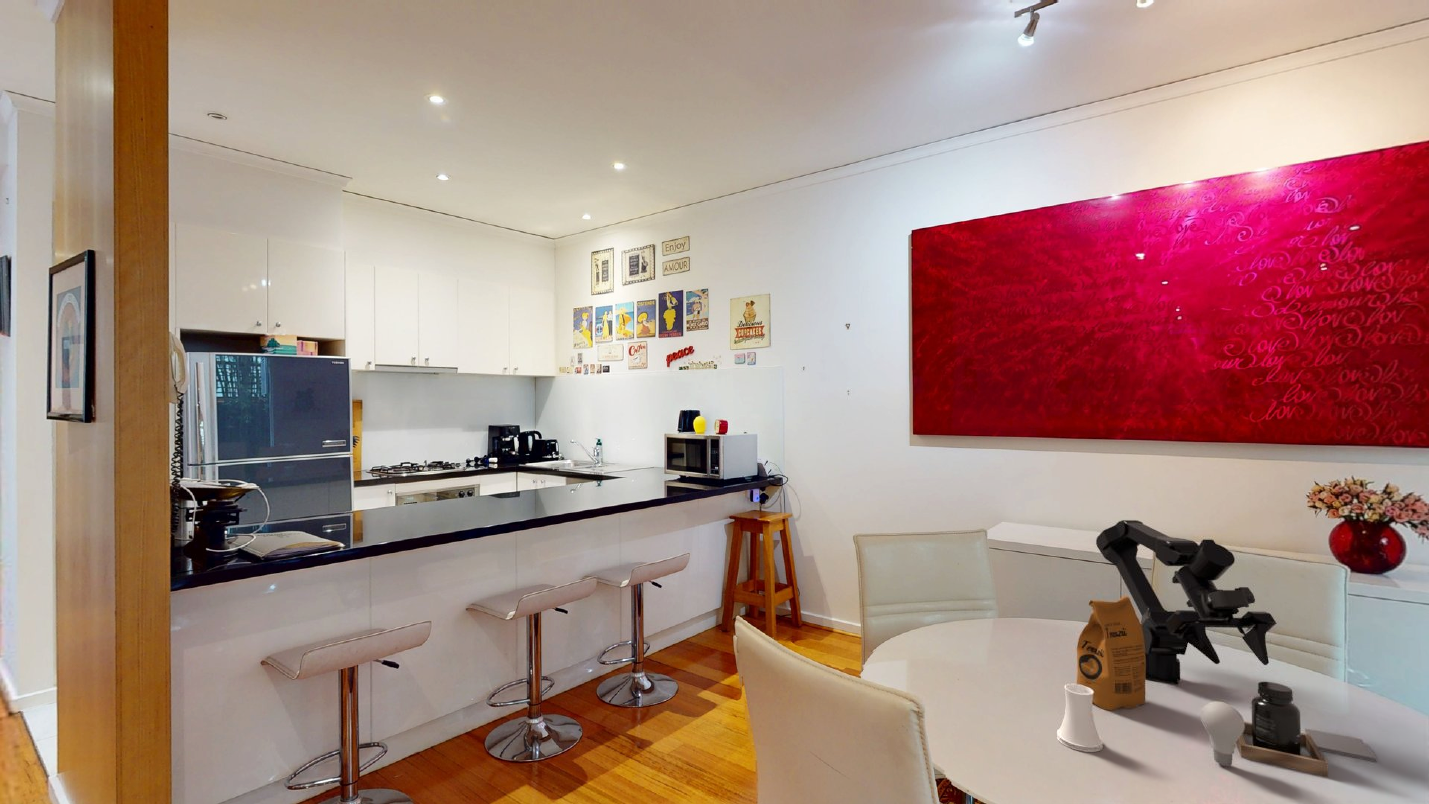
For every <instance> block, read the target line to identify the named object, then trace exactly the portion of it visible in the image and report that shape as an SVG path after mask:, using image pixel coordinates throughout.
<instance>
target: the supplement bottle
mask: <svg viewBox="0 0 1429 804" xmlns="http://www.w3.org/2000/svg"><path fill="white" fill-rule="evenodd" d="M1257 686H1258V687H1257V694H1258V695H1256V696H1253V698H1252V699H1251V723H1252V736H1251V743H1252V744H1251V745H1252V746H1256V747H1261V748H1266V749H1270V750H1275V751H1280V752H1285V753H1289V754H1294V755H1299V756H1302V746H1301V733H1302V731H1301V730H1302V729H1301V722H1302V721H1301V711H1300V709H1299V707H1298V706H1297V705H1296V704H1295V703H1293V701H1294V695H1293V689H1291V687H1288V686H1287V685H1284V684H1282V683H1281V684H1280V683H1276V682H1273V681H1272V682H1271V681H1259V682H1258V683H1257Z"/></svg>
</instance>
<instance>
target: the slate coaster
mask: <svg viewBox="0 0 1429 804" xmlns="http://www.w3.org/2000/svg"><path fill="white" fill-rule="evenodd" d="M1304 731H1305V734H1309V735H1310V736H1311V737H1312V739H1313V741H1314V742H1315V744H1316V745H1317V747H1318V749H1319V750H1320V752H1321V751H1322V752H1327V753H1331V754H1337V755H1341V756H1346V757H1351V758H1355V759H1360V760H1366V761H1370V762H1377V757H1376V756H1375V755H1374V754H1373V751H1372V750H1370V748H1369V747H1368V746H1367V744H1366V743H1365V741H1364V740H1363V739H1361V738H1357V737H1352V736H1346V735H1342V734H1338V733H1337V734H1336V733H1332V732H1327V731H1322V730H1316V729H1312V728H1306V727H1305V728H1304Z"/></svg>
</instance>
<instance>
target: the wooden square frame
mask: <svg viewBox="0 0 1429 804" xmlns="http://www.w3.org/2000/svg"><path fill="white" fill-rule="evenodd" d="M1244 724H1245V728H1244V732H1243V733H1242V735H1241V736H1240V738H1239V739H1238V740H1237V742H1236V744H1235V746H1236V748H1237V749H1238V752H1239V754H1240V755H1239V756H1240V757H1241V758H1243V759H1248V760H1251V761H1252V760H1253V761H1256V762H1260V763H1266V764H1269V765H1275V766H1280V767H1284V768H1288V769H1293V770H1297V771H1303V772H1306V773H1312V774H1316V775H1320V776H1323V777H1324V776H1325V777H1329V773H1328V771H1329V770H1328V769H1329V768H1328V762H1327V760H1326V759H1325V757H1324V755H1323V754H1322V752H1321V750H1319V749H1318V747H1317V745H1316V744H1315V742H1314V741H1313V739H1312V737H1311V736H1310V735H1309V734H1307V733H1304V732H1303V733H1302V732H1301V748H1302V747H1303V748H1305V749H1306V751H1307V753H1308V754H1309V756H1310V757H1308V756H1303V755H1301V756H1299V755H1294V754H1289V753H1285V752H1280V751H1275V750H1270V749H1266V748H1261V747H1256V746H1253V744H1251V745H1250V744H1247V742H1245V739H1244V737H1243V736H1250V737H1252V722H1248V721H1244Z"/></svg>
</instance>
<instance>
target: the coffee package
mask: <svg viewBox="0 0 1429 804" xmlns="http://www.w3.org/2000/svg"><path fill="white" fill-rule="evenodd" d="M1130 599H1131V598H1130V597H1129V596H1127V595H1126V596H1125V595H1124V596H1122V597H1121V598H1120V599H1118V600H1117V601H1104V600H1094V599H1091V600H1090V601H1089V602H1088V605H1089V607H1092V608H1091V609H1092V611H1093V612H1092V613H1091V614H1090V617H1089V619H1088V622H1087V624H1086V625H1085V626H1084V628H1083V629H1082V631H1081V633H1080V634H1079V637H1078V640H1077V645H1076V660H1077V662H1076V664H1077V668H1076V669H1077V671H1076V684H1079V685H1083V686H1086V687H1089V688H1090V689H1092V690H1093V691H1094V693H1093V700H1092V704H1094V705H1095V706H1096V707H1098V708H1101V709H1104V710H1106V711H1109V712H1111V711H1114V710H1117V709H1119V708H1126V709H1135V708H1136V707H1138V706H1139V705H1143V704H1146V694H1147V693H1146V680H1147V679H1146V673H1145V671H1146V658H1145V644H1144V636H1143V630H1142V627H1141V625H1140V624H1141V621H1140V619H1139V617H1138V616H1137V613H1136V610H1135V608H1134V606H1133V604H1132V601H1131V600H1130Z"/></svg>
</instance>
